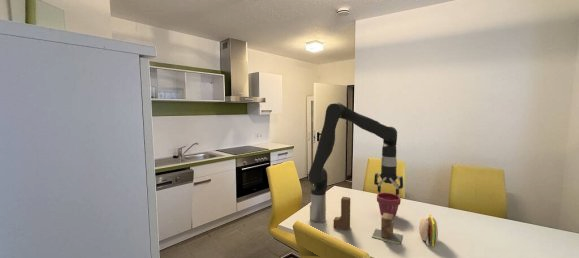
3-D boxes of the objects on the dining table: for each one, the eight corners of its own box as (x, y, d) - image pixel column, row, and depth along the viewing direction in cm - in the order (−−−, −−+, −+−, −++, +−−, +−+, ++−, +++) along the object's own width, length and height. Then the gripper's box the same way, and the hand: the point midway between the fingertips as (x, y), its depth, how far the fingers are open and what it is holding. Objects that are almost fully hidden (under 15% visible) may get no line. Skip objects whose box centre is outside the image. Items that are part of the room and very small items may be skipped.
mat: (371, 237, 131) (371, 236, 131) (375, 229, 139) (375, 228, 139) (400, 244, 123) (400, 243, 123) (402, 235, 132) (402, 234, 132)
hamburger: (417, 233, 135) (418, 212, 134) (434, 235, 131) (435, 214, 130) (420, 244, 124) (421, 221, 122) (439, 247, 120) (439, 224, 119)
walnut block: (381, 237, 130) (381, 217, 129) (383, 231, 136) (383, 212, 135) (391, 239, 127) (391, 219, 126) (393, 233, 133) (393, 214, 132)
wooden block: (333, 227, 143) (333, 197, 141) (335, 223, 147) (335, 195, 145) (348, 230, 139) (348, 200, 137) (350, 226, 143) (350, 197, 141)
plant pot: (395, 210, 164) (396, 192, 162) (403, 220, 150) (404, 200, 148) (374, 210, 165) (374, 192, 164) (379, 219, 151) (380, 200, 150)
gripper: (373, 164, 128) (372, 193, 130) (402, 167, 121) (401, 198, 122) (376, 161, 135) (375, 189, 136) (404, 164, 127) (403, 194, 129)
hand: (388, 193), depth 129 cm, fingers open, 8 cm apart
